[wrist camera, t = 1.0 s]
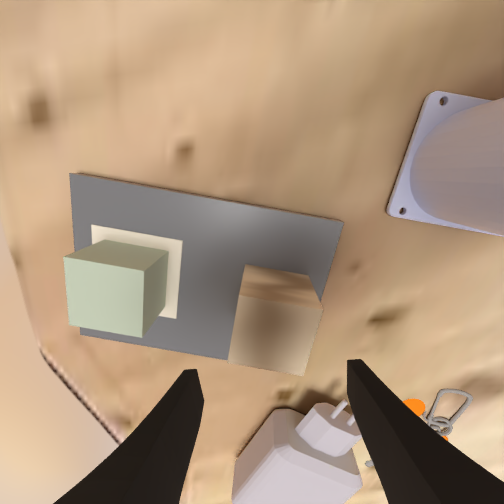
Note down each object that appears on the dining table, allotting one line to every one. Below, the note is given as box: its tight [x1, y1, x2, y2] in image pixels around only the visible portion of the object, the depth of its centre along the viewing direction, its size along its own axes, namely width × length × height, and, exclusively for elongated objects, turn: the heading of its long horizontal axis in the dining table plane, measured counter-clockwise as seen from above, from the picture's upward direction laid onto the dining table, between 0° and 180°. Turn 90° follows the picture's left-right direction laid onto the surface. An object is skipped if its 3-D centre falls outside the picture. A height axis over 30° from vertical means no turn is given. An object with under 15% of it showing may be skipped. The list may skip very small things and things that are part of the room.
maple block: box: [227, 264, 323, 376], centre depth 17 cm, size 5×5×5 cm
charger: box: [232, 399, 363, 504], centre depth 23 cm, size 5×9×15 cm
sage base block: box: [63, 240, 169, 338], centre depth 17 cm, size 5×5×4 cm
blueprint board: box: [69, 173, 344, 360], centre depth 20 cm, size 20×14×1 cm
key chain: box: [365, 389, 473, 467], centre depth 25 cm, size 13×7×1 cm, turn 166°
